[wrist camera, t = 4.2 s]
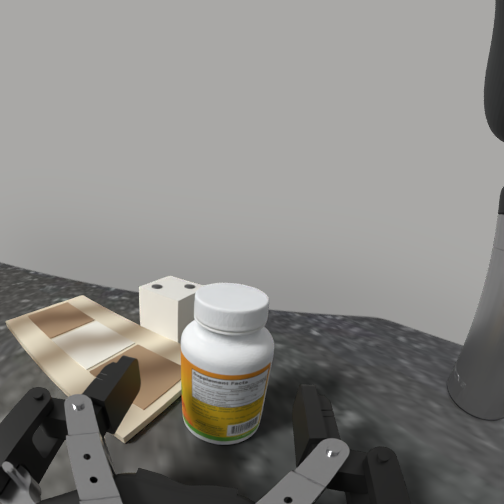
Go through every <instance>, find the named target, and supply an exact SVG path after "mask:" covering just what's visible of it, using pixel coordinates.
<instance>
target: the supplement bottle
mask: <svg viewBox="0 0 504 504" xmlns="http://www.w3.org/2000/svg"><path fill="white" fill-rule="evenodd" d="M268 309H269V298H268V296H267V295H266V294H265V293H264V292H262V291H260V290H258V289H256V288H253V287H250V286H246V285H242V284H235V283H214V284H209V285H205V286H203V287H201V288H199V289H198V290H197V291H196V293H195V302H194V319H195V320H194V321H192V322H191V323H189V324H188V325H187V326H186V328H185V329H184V331H183V333H182V336H181V392H182V411H183V419H184V422H185V424H186V426H187V428H188V429H189V430H190V431H191V432H192V433H193V434H194V435H195V436H196V437H198V438H200V439H202V440H204V441H206V442H209V443H213V444H221V445H228V444H235V443H239V442H242V441H244V440H246V439H248V438H249V437H251V436H252V435H253V434H254V433H255V432H256V430H257V428H258V426H259V424H260V420H261V415H262V411H263V406H264V401H265V396H266V390H267V385H268V380H269V375H270V370H271V364H272V359H273V353H274V341H273V338H272V336H271V334H270V332H269V331H268V330H267V329H266V328H265V327H264V326H265V324H266V321H267V318H268Z"/></svg>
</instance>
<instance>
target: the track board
mask: <svg viewBox="0 0 504 504" xmlns="http://www.w3.org/2000/svg"><path fill="white" fill-rule="evenodd" d="M6 324H7V327H8V328H9V329H10V331H11V332H12V334H13V335H14V336H15V338H16V339H17V340H18V341H19V343H20V344H21V345H22V347H23V348H24V349H25V350H26V352H27V353H28V354H29V355H30V356H31V358H32V359H33V360H34V361H35V362H36V363H37V365H38V366H39V367H40V368H41V369H42V370H43V371H44V372H45V373H46V375H47V376H48V377H49V378H50V379H51V380H52V381H53V382H54V383H55V384H56V385H57V386H58V387H59V388H60V389H61V390H62V391H63V392H64V393H65V394H66V395H67V396H68V397H69V396H71V395H74V394H82V393H83V392H84V391H85V389H86V388H87V387H88V386H89V385H90V383H91V382H92V381H93V380H94V379H95V378H96V376H97V375H98V374H99V373H100V371H101V370H102V369H103V368H104V367H105V366H106V365H108V364H110V363H112V362H115V363H117V362H118V360H119V359H120V358H121V357H122V356H123V355H125V356H129V357H132V358H136V359H138V362H139V371H140V378H141V387H140V391H139V393H138V395H137V396H136V398H135V400H134V402H133V403H132V405H131V407H130V408H129V410H128V412H127V413H126V415H125V417H124V419H123V420H122V422H121V424H120V426H119V427H118V429H117V431H116V432H115V434H113V435H114V436H115V437H117V438H118V439H119V440H121V441H122V442H124V443H126V442H127V441H128V440H130V439H131V438H132V437H133V436H134V435H136V434H137V433H138V432H139V431H140V430H142V429H143V428H144V427H145V426H146V425H148V424H149V423H150V422H151V421H152V420H153V419H155V418H156V417H157V416H158V415H159V414H160V413H162V412H163V411H164V410H165V409H166V408H167V407H168V406H170V405H171V404H172V403H173V402H174V401H175V400H176V399H177V398H179V397H180V396H181V395H182V392H181V344H180V343H178V342H175V341H173V340H171V339H168V338H166V337H164V336H162V335H159V334H157V333H155V332H153V331H151V330H149V329H146V328H144V327H142V326H140V325H138V324H136V323H134V322H132V321H130V320H128V319H126V318H124V317H122V316H120V315H118V314H116V313H114V312H112V311H110V310H108V309H106V308H105V307H103V306H101V305H99V304H97V303H95V302H94V301H92V300H90V299H88V298H86V297H85V296H83V295H82V296H79V297H76V298H73V299H70V300H67V301H64V302H61V303H58V304H55V305H52V306H49V307H46V308H43V309H40V310H37V311H34V312H31V313H28V314H25V315H22V316H20V317H17V318H14V319H11V320H8V321H6Z"/></svg>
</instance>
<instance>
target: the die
mask: <svg viewBox="0 0 504 504" xmlns="http://www.w3.org/2000/svg"><path fill="white" fill-rule="evenodd" d="M201 287H203V285H199V284H196V283H193V282H189V281H186V280H182V279H179V278H176V277H172V276H168V277H165V278H162V279H159V280H157V281H154V282H151V283H148V284H146V285H143V286H140V287H139V304H140V325H141V326H142V327H144V328H146V329H149V330H151V331H153V332H155V333H157V334H159V335H162V336H164V337H166V338H168V339H171V340H173V341H175V342H178V343H180V344H181V336H182V333H183V331H184V329H185V328H186V326H187V325H188V324H189V323H191V322H192V321H194V320H195V319H194V302H195V293H196V291H197V290H198V289H199V288H201Z"/></svg>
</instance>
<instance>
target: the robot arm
mask: <svg viewBox="0 0 504 504" xmlns="http://www.w3.org/2000/svg"><path fill="white" fill-rule="evenodd" d="M495 9H496V10H495V20H494V28H493V35H492V41H491V47H490V53H489V58H488V63H487V69H486V76H485V86H484V108H485V115H486V119H487V122H488V125H489V127H490V129H491V131H492V132H493V133H494V135H495V136H496V137H497V138H499V139H500V140H501V141H503V142H504V0H496V8H495ZM498 214H499V215H498V218H497V226H496V232H495V238H494V244H493V249H492V255H491V259H490V264H489V268H488V272H487V276H486V280H485V284H484V288H483V291H482V295H481V298H480V301H479V305H478V308H477V311H476V314H475V317H474V320H473V322H472V325H471V328H470V330H469V333H468V336H467V338H466V341H465V343H464V346H463V348H462V350H461V353H460V355H459V357H458V360H457V362H456V363H455V365H454V368H453V371H452V373H451V375H450V377H449V379H448V382H447V387H448V391H449V394H450V396H451V397H452V399H453V400H454V401H455V403H456V404H457V405H458V406H459V407H461V408H462V409H463V410H465V411H466V412H468V413H469V414H471V415H473V416H476V417H478V418H481V419H487V420H497V419H501V418H503V417H504V187H503V188H502V190H501V194H500V201H499V210H498ZM140 387H141V378H140V371H139V362H138V359H136V358H132V357H129V356H125V355H123V356H122V357H121V358H120V359H119V360H118V362H117V363H115V362H112V363H110V364H108V365H106V366H105V367H104V368H103V369H102V370H101V371H100V373H99V374H98V375H97V376H96V378H95V379H94V380H93V381H92V382H91V383H90V385H89V386H88V387H87V388H86V389H85V391H84V392H83V393H82V394H74V395H71V396H69V397H68V398H67V399H66V400H63V399H57V398H52V397H51V395H50V393H49V391H48V390H47V389H45V388H42V387H36V388H32V389H30V390H29V391H28V392H27V393H26V394H25V395H24V397H23V398H22V399H21V400H20V401H19V402H18V403H17V404H16V406H15V407H14V408H13V409H12V410H11V411H10V413H9V414H8V415H7V416H6V417H5V418H4V420H3V421H2V422H1V423H0V504H314V503H315V502H316V501H317V499H318V498H319V497H320V496H321V494H322V493H323V492H324V491H325V489H326V488H328V489H333V490H338V491H344V492H345V493H346V501H347V504H411V502H410V499H409V495H408V492H407V488H406V485H405V481H404V478H403V475H402V472H401V469H400V465H399V462H398V459H397V456H396V454H395V453H394V452H393V451H392V450H391V449H389V448H387V447H375V448H373V449H371V450H370V451H369V453H366V452H359V451H354V450H351V449H349V447H348V446H347V444H346V443H345V442H343V441H341V439H340V436H339V432H338V428H337V424H336V420H335V417H334V413H333V411H332V410H333V409H332V405H331V402H330V401H329V400H328V398H327V397H326V396H325V395H318V393H317V389H316V386H315V385H305V384H300V385H299V388H298V391H297V395H296V398H295V402H294V405H293V410H292V421H293V432H294V444H295V455H296V468H297V469H296V470H294V471H293V470H292V471H290V472H289V473H288V474H287V475H286V476H285V477H284V478H283V479H282V480H281V481H280V482H279V483H278V484H277V485H276V486H275V487H274V488H272V489H271V490H270V491H269V492H268V493H267V494H266V495H265V496H264V497H263V498H261V499H260V500H259V501H258V502H257V503H255V502H254V501H252V500H250V499H249V498H246V497H244V496H241V495H238V494H237V490H238V488H229V487H222V486H215V485H183V484H181V483H179V482H177V481H174V480H172V479H170V478H168V477H166V476H164V475H162V474H158V473H155V472H151V471H148V470H144V469H141V468H138V470H137V473H121V474H117V472H116V470H115V468H114V465H113V462H112V459H111V457H110V454H109V451H108V447H107V444H106V441H105V438H104V435H105V434H106V432H109V433H111V434H115V432H116V431H117V429H118V427H119V426H120V424H121V422H122V420H123V419H124V417H125V415H126V413H127V412H128V410H129V408H130V407H131V405H132V403H133V402H134V400H135V398H136V396H137V395H138V393H139V391H140ZM39 426H40V427H39ZM38 427H39V428H38ZM36 430H37V431H36ZM34 433H35V434H34ZM64 440H66V442H67V447H68V453H69V458H70V463H71V467H72V471H73V476H74V480H75V483H76V487H77V490H74V491H71V492H68V493H65V494H62V495H59V496H55V497H52V498H49V499H45V500H42V501H41V497H40V496H41V488H40V486H39V483H40V481H41V479H42V477H43V476H44V474H45V472H46V470H47V469H48V467H49V465H50V464H51V462H52V460H53V458H54V457H55V455H56V453H57V452H58V450H59V448H60V447H61V445H62V443H63V442H64Z"/></svg>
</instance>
